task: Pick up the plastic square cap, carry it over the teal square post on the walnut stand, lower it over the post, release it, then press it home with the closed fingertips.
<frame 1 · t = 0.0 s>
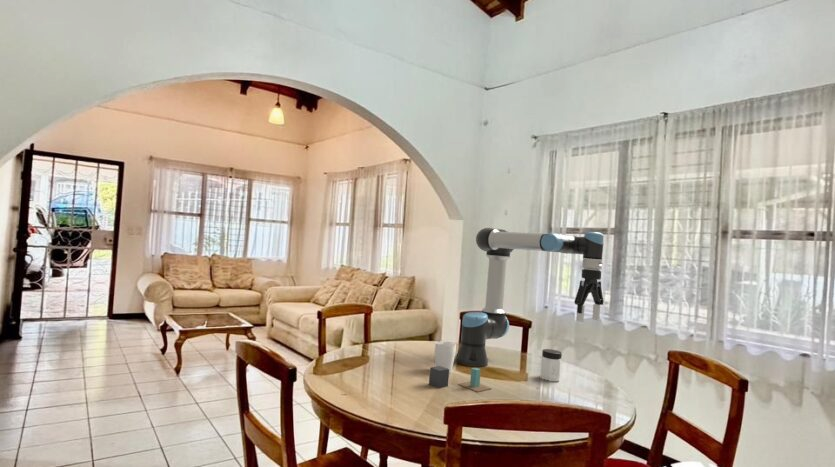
hand: (588, 320, 185), 28 cm above the table, fingers open, 13 cm apart
cup: (443, 372, 192), on the table
jar: (549, 379, 195), on the table
post: (474, 386, 174), on the table
cap: (438, 385, 172), on the table
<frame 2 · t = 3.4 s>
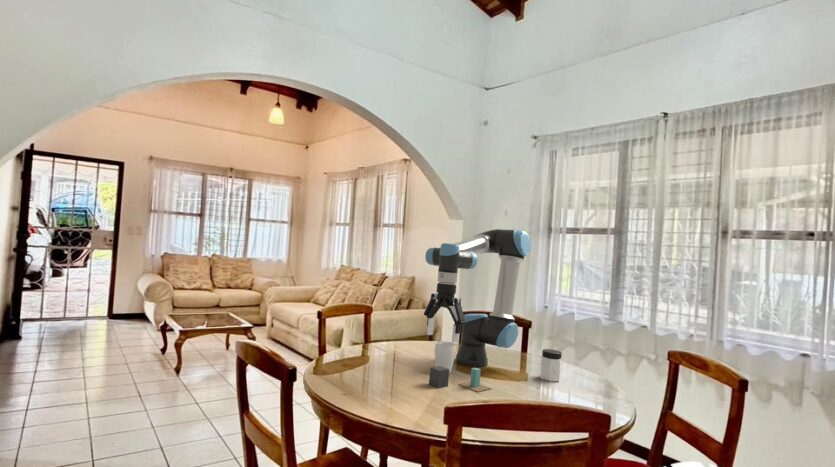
hand: (442, 338, 172), 18 cm above the table, fingers open, 13 cm apart
nothing on the table moved.
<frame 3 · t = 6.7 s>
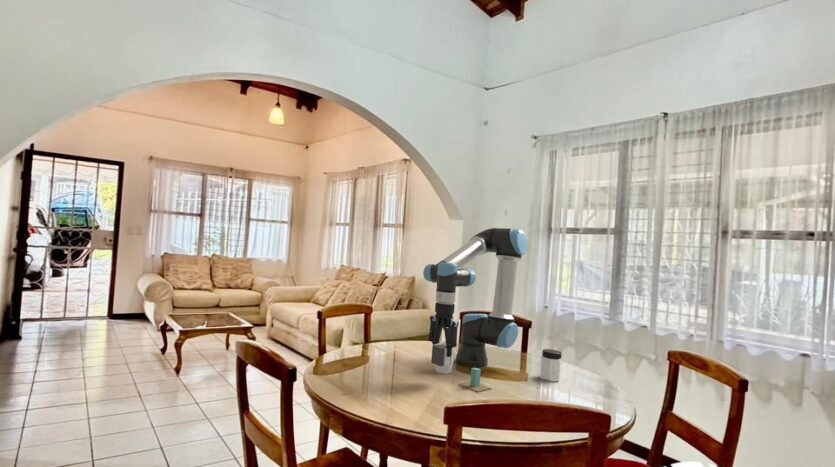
hand: (441, 362, 173), 9 cm above the table, fingers closed on cap, 5 cm apart
cap: (440, 363, 173), point 8 cm above the table, touching gripper
everything else where it was.
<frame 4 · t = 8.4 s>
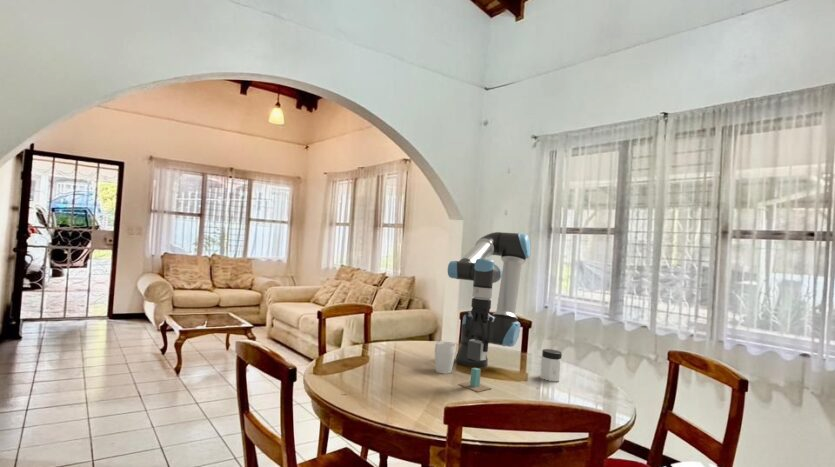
hand: (476, 357, 174), 11 cm above the table, fingers closed on cap, 5 cm apart
cap: (476, 358, 174), point 11 cm above the table, touching gripper
everything else where it was.
when the fingers open (2 cm above the table, at t = 10.3 s): cap stays where it is, resting on post.
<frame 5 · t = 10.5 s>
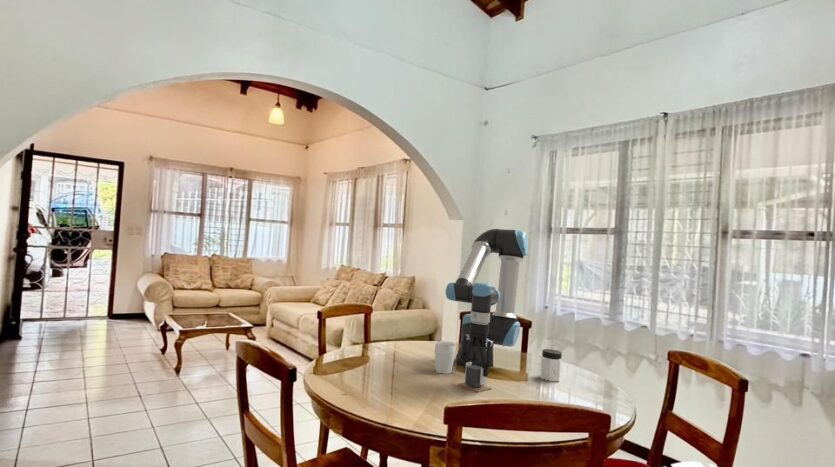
hand: (475, 381, 174), 2 cm above the table, fingers open, 7 cm apart
cap: (474, 384, 174), point 1 cm above the table, touching post
everything else where it was.
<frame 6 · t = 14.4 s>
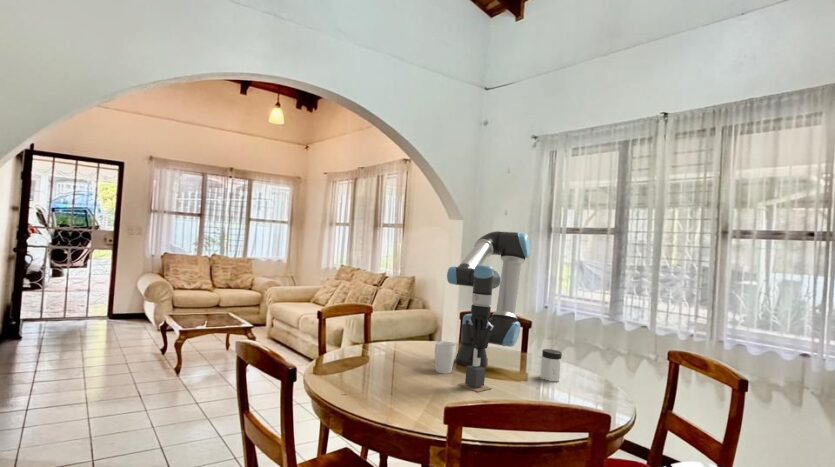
hand: (476, 365, 174), 8 cm above the table, fingers closed
nothing on the table moved.
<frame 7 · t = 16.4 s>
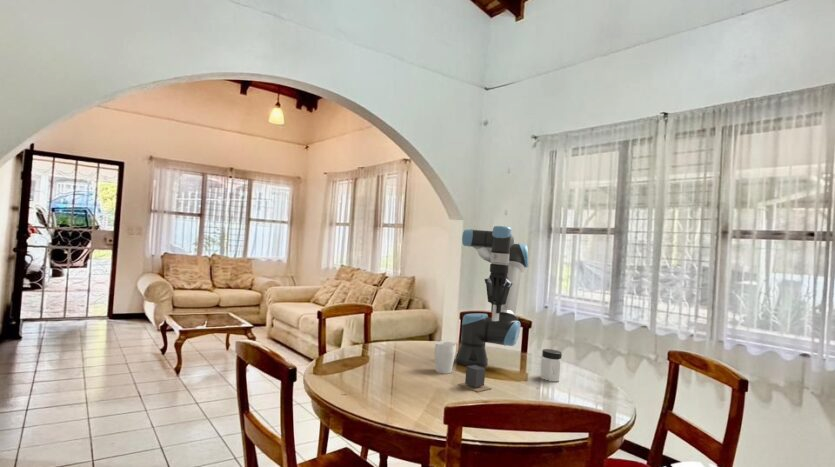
hand: (495, 320, 184), 25 cm above the table, fingers closed
nothing on the table moved.
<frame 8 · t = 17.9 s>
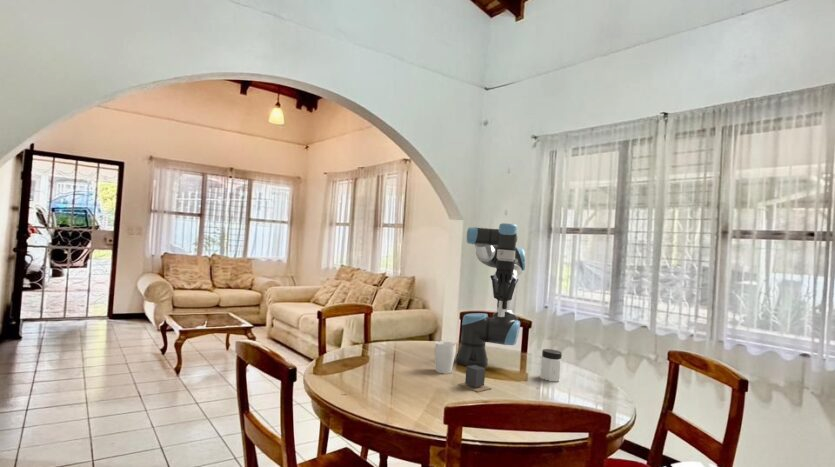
hand: (501, 316, 187), 26 cm above the table, fingers closed
nothing on the table moved.
at the end: cap 0.1 cm from the post (horizontally); cap point 1.0 cm above the table; the gripper is holding nothing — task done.
